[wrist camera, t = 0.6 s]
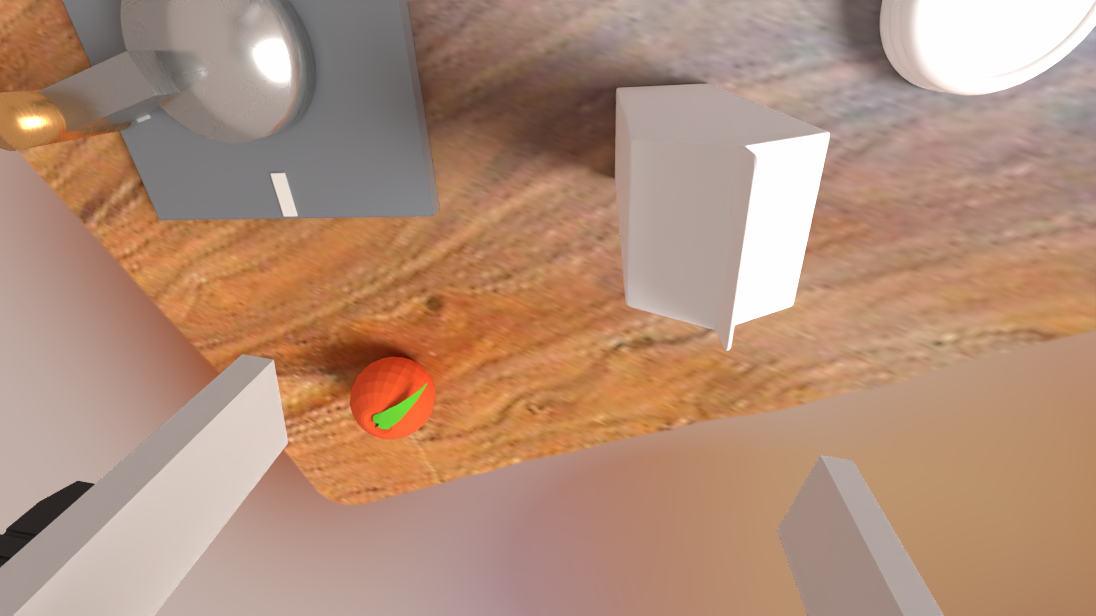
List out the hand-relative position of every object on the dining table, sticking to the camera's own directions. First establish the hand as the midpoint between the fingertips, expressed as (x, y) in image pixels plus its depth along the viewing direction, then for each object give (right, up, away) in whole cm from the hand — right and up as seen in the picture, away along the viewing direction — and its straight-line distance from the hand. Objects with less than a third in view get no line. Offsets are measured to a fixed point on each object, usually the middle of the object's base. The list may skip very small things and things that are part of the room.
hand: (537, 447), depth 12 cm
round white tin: (+24, +21, +16) cm, 36 cm away
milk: (+8, +15, +21) cm, 27 cm away
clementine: (-12, -2, +33) cm, 35 cm away
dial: (-23, +19, +20) cm, 36 cm away
